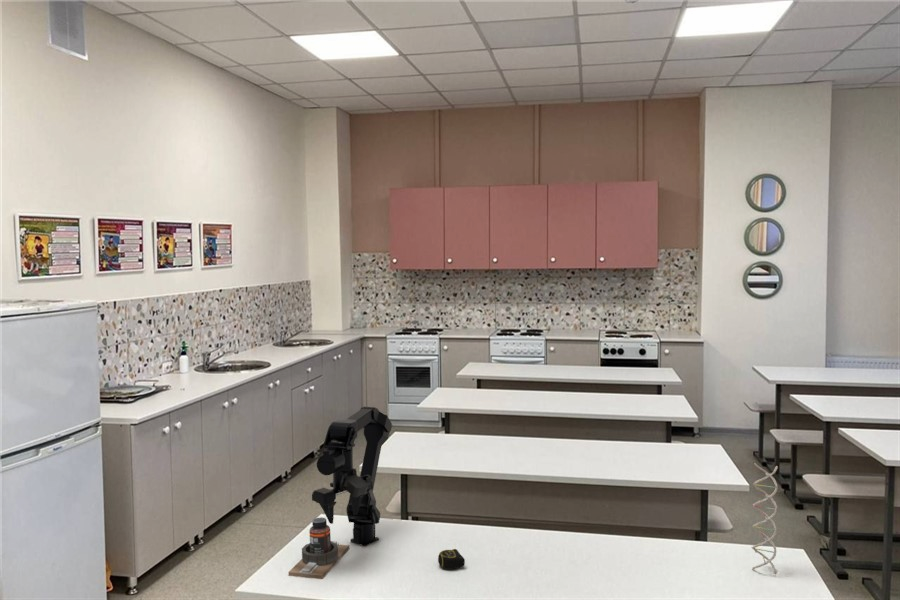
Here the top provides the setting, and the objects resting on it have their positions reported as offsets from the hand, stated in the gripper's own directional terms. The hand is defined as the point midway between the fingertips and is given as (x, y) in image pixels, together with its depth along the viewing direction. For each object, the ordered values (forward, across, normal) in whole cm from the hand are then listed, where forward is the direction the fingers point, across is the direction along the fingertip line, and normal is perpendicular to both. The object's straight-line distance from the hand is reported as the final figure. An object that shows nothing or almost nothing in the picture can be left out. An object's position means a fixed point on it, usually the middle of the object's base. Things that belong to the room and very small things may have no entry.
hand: (343, 518), depth 203 cm
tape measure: (+12, +17, -27) cm, 34 cm away
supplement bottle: (+11, -5, +5) cm, 13 cm away
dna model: (+12, +66, -97) cm, 118 cm away
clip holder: (+12, -5, +5) cm, 14 cm away
